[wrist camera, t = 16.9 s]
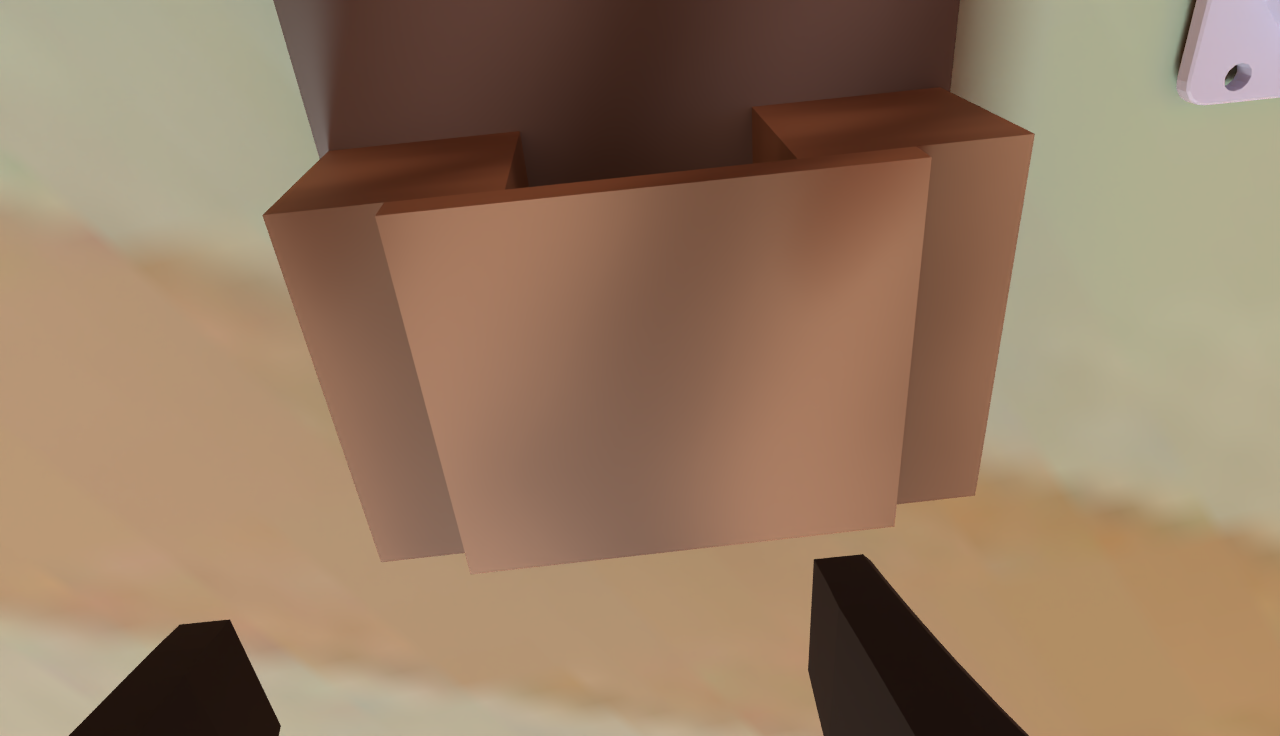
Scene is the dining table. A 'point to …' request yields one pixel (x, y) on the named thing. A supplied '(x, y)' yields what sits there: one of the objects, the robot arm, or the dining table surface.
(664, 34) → the bridge block
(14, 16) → the dining table surface
